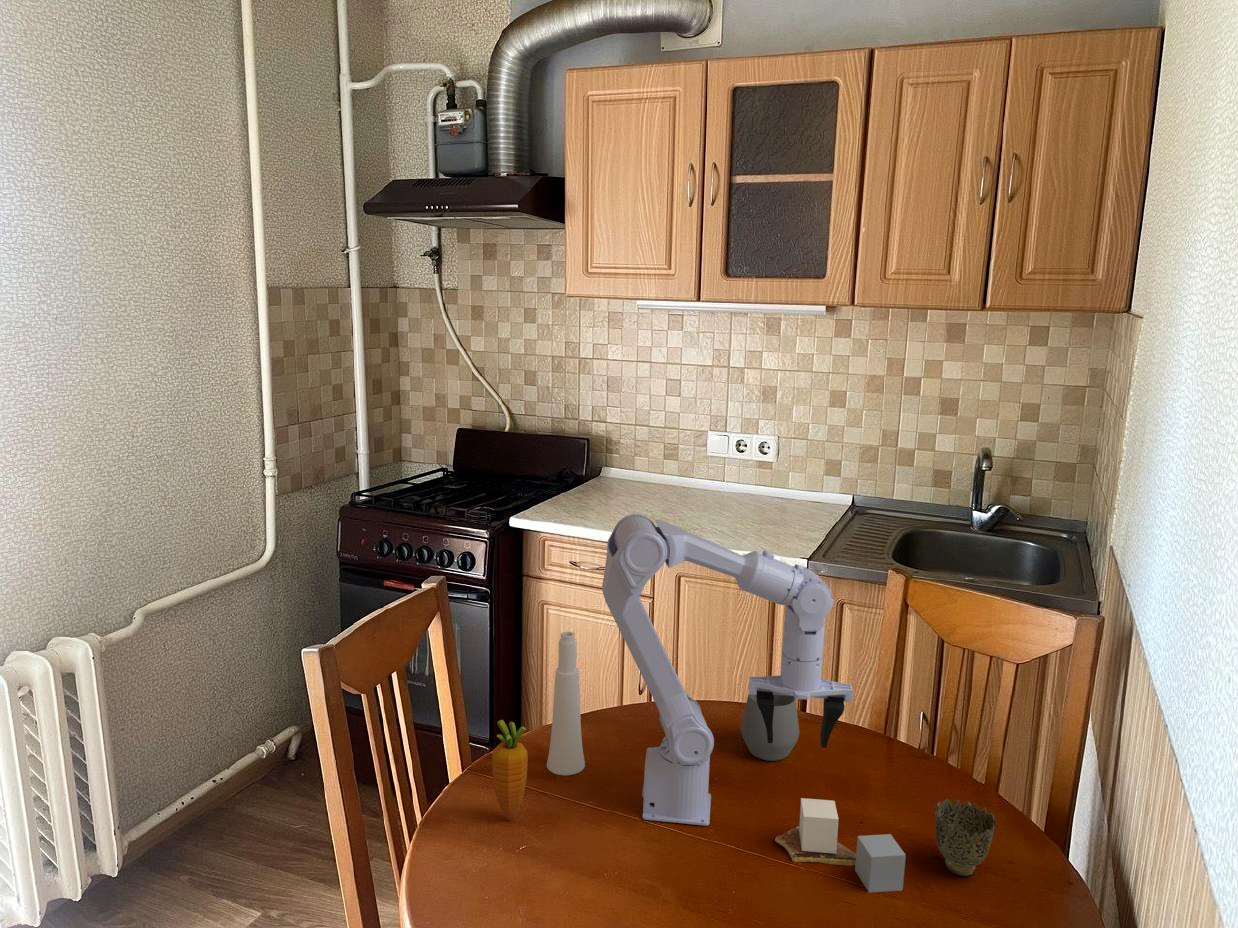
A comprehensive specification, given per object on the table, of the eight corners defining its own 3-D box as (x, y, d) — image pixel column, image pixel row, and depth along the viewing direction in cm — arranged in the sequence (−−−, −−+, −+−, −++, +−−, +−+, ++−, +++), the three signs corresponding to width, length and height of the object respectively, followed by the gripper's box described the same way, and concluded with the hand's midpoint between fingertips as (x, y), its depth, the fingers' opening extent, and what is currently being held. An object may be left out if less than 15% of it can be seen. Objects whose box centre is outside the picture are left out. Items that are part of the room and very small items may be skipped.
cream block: (801, 850, 119) (803, 816, 118) (799, 831, 124) (801, 797, 123) (836, 853, 119) (838, 819, 118) (832, 833, 123) (834, 800, 122)
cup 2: (983, 895, 113) (990, 837, 112) (923, 874, 117) (929, 818, 115) (994, 864, 119) (1000, 809, 118) (937, 845, 123) (942, 792, 122)
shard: (869, 871, 118) (870, 859, 118) (831, 892, 114) (832, 880, 113) (806, 831, 127) (806, 820, 126) (768, 850, 122) (769, 838, 122)
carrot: (534, 820, 127) (535, 721, 124) (507, 834, 123) (507, 733, 120) (511, 806, 130) (512, 709, 127) (484, 819, 126) (484, 721, 124)
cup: (802, 768, 143) (806, 709, 141) (743, 766, 143) (746, 708, 141) (791, 739, 152) (795, 684, 150) (736, 738, 152) (739, 682, 150)
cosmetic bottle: (574, 752, 146) (576, 624, 142) (591, 770, 141) (594, 637, 137) (540, 761, 143) (541, 630, 139) (557, 779, 138) (558, 644, 134)
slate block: (868, 892, 113) (871, 856, 112) (854, 870, 117) (857, 835, 117) (902, 890, 114) (905, 854, 113) (887, 868, 118) (890, 833, 117)
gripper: (751, 661, 125) (746, 751, 128) (857, 669, 123) (850, 760, 126) (750, 642, 132) (746, 728, 134) (851, 649, 130) (844, 736, 133)
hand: (796, 742), depth 131 cm, fingers open, 7 cm apart
